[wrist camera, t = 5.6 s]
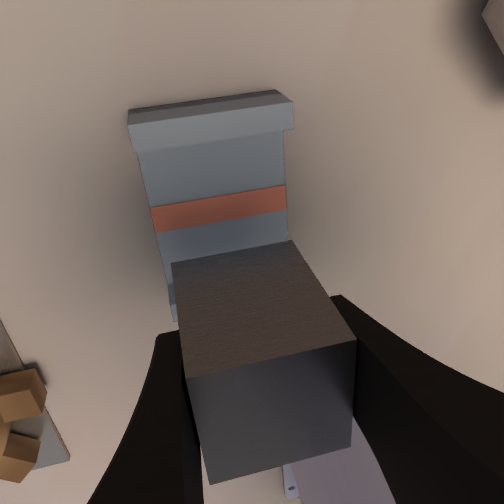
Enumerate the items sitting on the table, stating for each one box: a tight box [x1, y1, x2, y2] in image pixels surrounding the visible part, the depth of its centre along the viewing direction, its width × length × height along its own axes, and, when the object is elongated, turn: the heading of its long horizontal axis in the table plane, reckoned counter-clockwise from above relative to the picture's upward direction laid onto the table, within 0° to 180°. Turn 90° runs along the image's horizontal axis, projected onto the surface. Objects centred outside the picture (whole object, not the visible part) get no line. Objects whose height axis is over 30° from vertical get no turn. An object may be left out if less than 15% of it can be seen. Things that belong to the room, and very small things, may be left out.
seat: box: [127, 90, 294, 322], centre depth 19 cm, size 9×6×2 cm, turn 5°
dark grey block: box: [171, 240, 357, 485], centre depth 13 cm, size 4×4×5 cm
